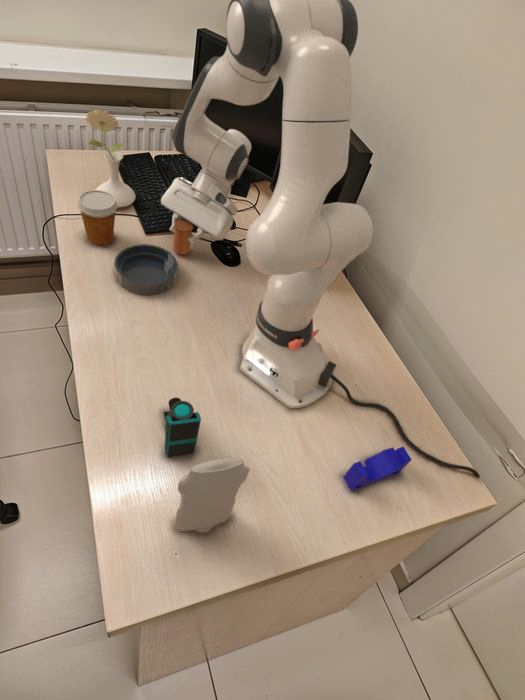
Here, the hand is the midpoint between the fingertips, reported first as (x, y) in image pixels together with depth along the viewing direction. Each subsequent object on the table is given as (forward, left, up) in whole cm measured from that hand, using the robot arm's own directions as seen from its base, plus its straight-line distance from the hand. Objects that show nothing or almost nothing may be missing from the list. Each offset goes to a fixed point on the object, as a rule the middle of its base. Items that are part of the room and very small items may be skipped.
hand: (181, 237), depth 121 cm
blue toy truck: (-74, +4, -6) cm, 75 cm away
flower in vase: (+30, +3, -6) cm, 30 cm away
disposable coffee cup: (+15, +15, -6) cm, 22 cm away
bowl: (-3, +12, -6) cm, 14 cm away
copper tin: (0, -1, -4) cm, 4 cm away
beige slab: (-62, +37, -6) cm, 73 cm away
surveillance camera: (-45, +31, -6) cm, 55 cm away
